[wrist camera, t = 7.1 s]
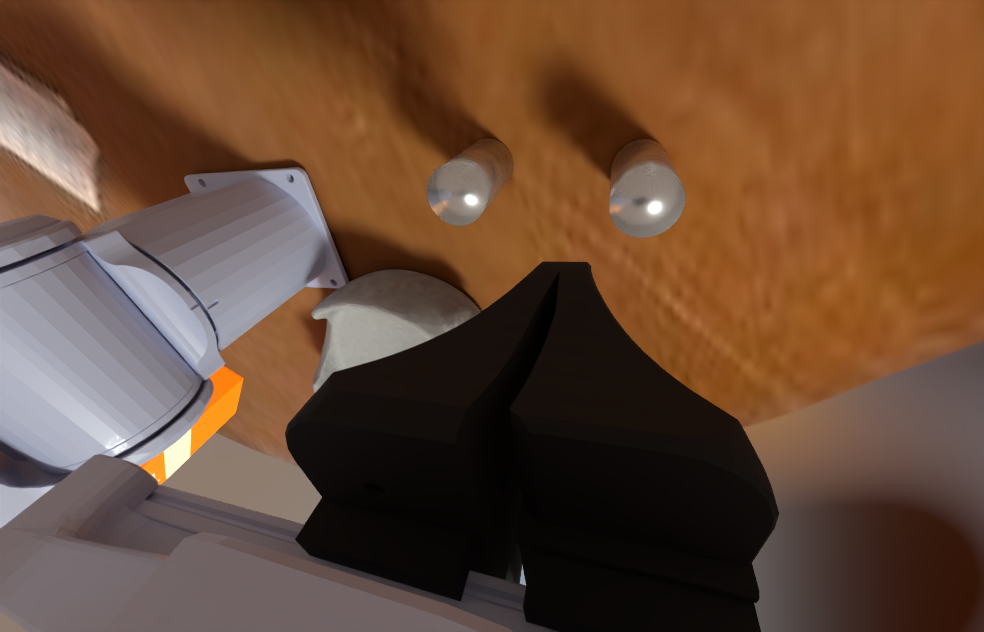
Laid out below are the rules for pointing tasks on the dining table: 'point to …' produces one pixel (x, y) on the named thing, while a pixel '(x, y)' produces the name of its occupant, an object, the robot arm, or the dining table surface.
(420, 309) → the dish
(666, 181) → the spacer posts
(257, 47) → the dining table surface
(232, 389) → the orange juice
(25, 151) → the dining table surface
